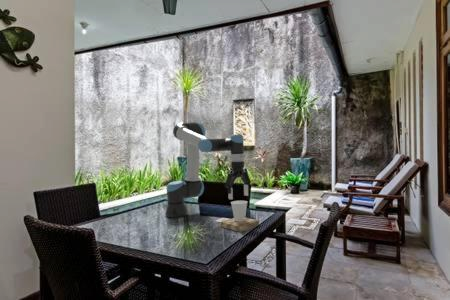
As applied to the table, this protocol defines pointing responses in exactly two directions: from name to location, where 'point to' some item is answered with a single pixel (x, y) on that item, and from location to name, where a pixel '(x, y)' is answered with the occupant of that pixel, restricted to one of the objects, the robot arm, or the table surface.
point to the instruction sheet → (221, 219)
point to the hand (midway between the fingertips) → (238, 197)
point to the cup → (239, 210)
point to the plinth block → (240, 224)
